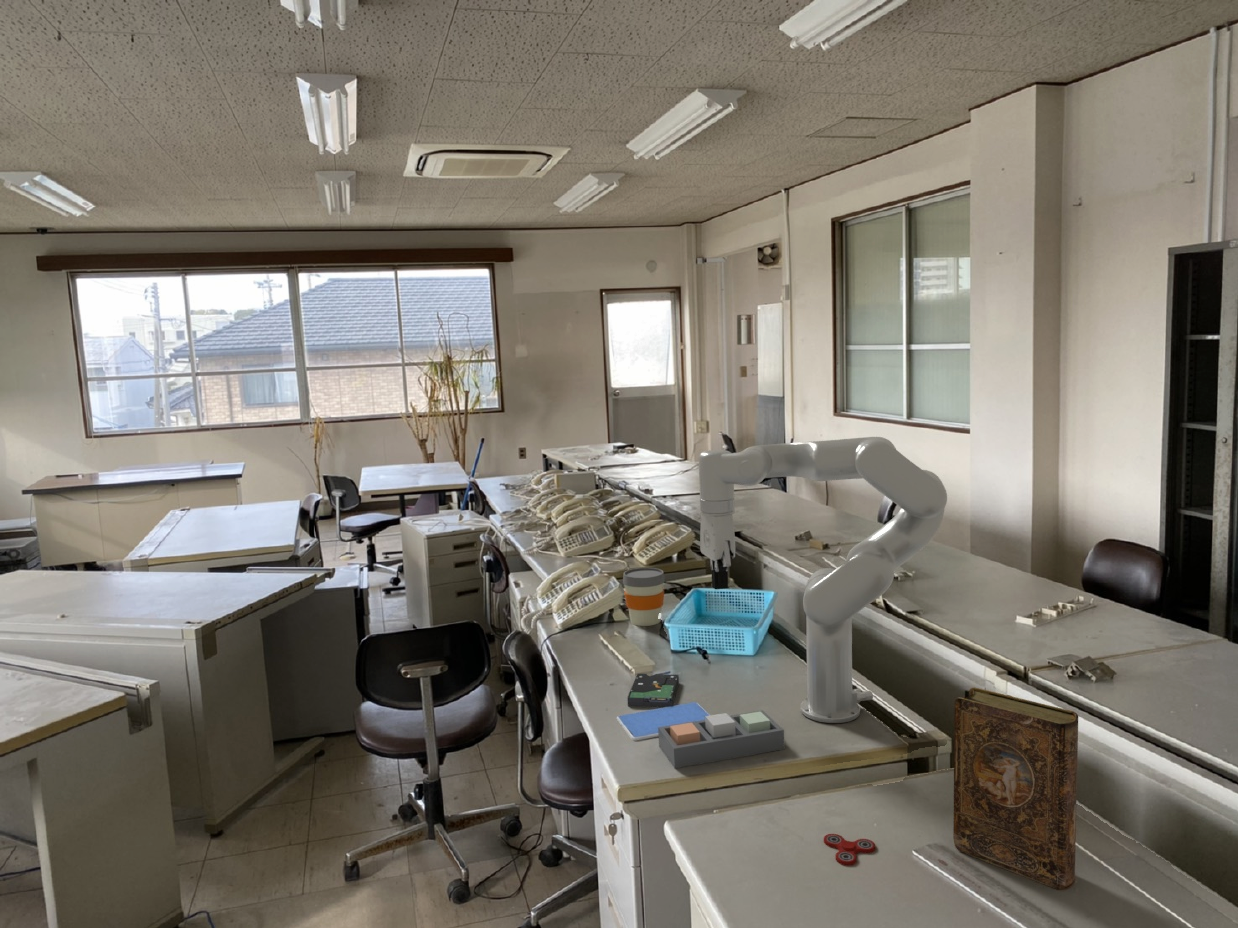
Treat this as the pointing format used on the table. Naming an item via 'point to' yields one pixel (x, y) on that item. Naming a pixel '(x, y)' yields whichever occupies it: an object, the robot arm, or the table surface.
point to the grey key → (720, 725)
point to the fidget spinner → (848, 848)
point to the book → (1016, 785)
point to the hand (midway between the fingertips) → (720, 587)
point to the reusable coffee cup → (644, 595)
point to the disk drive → (653, 690)
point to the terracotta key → (684, 734)
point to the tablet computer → (659, 719)
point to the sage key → (754, 722)
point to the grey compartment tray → (720, 743)
